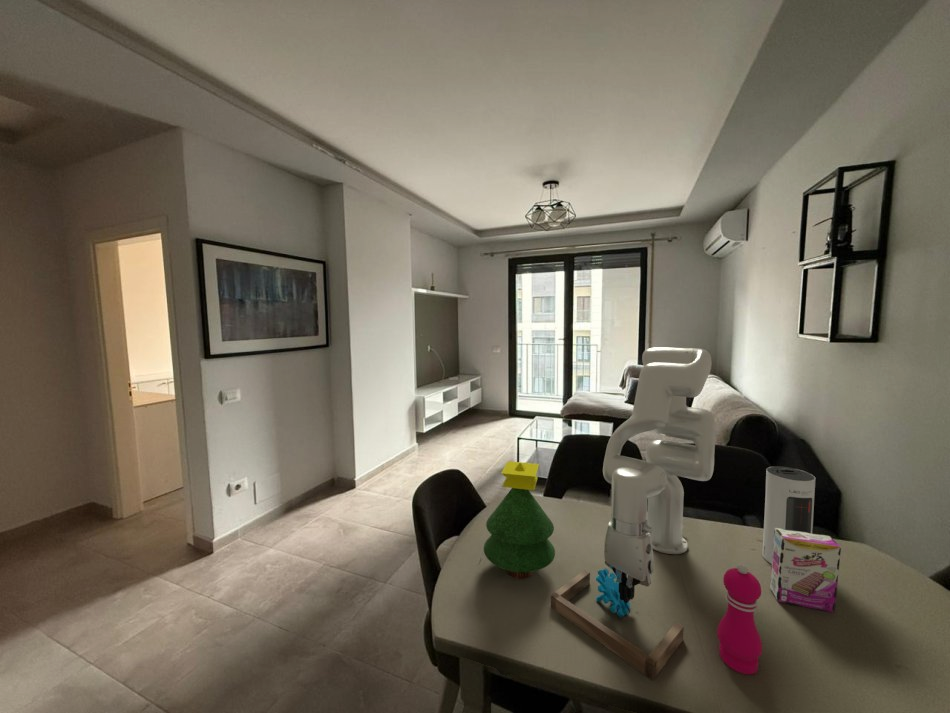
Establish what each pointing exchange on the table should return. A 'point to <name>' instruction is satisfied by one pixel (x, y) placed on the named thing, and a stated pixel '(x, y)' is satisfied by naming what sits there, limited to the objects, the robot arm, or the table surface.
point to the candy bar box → (805, 569)
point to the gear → (611, 592)
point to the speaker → (787, 504)
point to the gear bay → (610, 639)
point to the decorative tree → (519, 526)
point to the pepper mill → (740, 621)
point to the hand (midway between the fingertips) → (626, 598)
